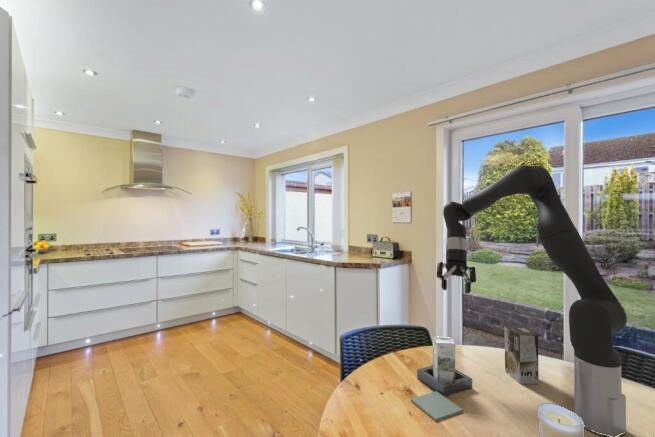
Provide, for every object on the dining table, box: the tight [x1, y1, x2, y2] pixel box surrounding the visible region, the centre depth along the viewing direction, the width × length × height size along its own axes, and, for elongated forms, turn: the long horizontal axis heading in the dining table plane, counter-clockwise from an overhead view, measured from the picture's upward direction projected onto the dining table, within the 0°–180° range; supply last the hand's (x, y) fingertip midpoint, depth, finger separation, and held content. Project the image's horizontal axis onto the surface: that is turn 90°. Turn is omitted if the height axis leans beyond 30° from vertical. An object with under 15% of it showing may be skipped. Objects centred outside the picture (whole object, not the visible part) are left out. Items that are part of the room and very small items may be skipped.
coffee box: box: [503, 325, 540, 385], centre depth 103 cm, size 9×6×16 cm
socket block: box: [416, 364, 473, 398], centre depth 99 cm, size 12×12×3 cm
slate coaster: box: [410, 390, 464, 422], centre depth 87 cm, size 10×10×1 cm
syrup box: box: [432, 336, 456, 383], centre depth 99 cm, size 6×6×14 cm
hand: (456, 291), depth 114 cm, fingers open, 8 cm apart
